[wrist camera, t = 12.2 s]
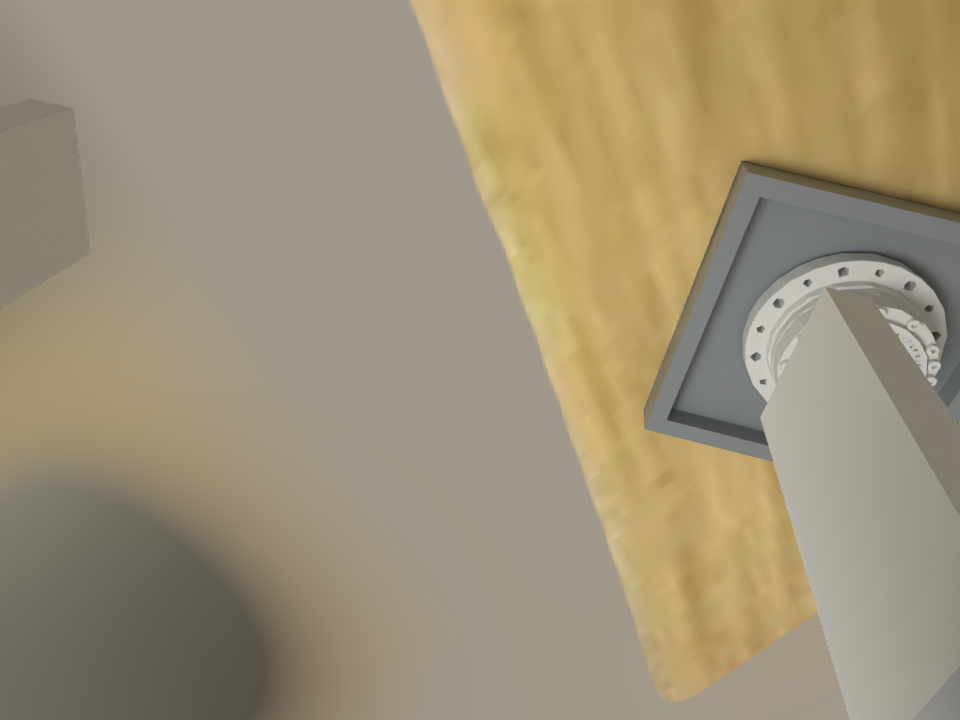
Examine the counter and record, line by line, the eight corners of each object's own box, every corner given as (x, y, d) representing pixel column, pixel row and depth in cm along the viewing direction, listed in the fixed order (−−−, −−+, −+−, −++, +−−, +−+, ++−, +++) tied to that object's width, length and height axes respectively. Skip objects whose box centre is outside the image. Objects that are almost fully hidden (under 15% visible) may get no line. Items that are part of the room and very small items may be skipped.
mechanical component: (931, 399, 41) (943, 235, 36) (963, 446, 37) (982, 270, 32) (746, 416, 43) (735, 265, 39) (758, 462, 40) (748, 301, 35)
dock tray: (741, 161, 36) (747, 172, 35) (1056, 236, 36) (1077, 251, 34) (643, 410, 45) (644, 428, 43) (896, 474, 44) (908, 495, 43)
